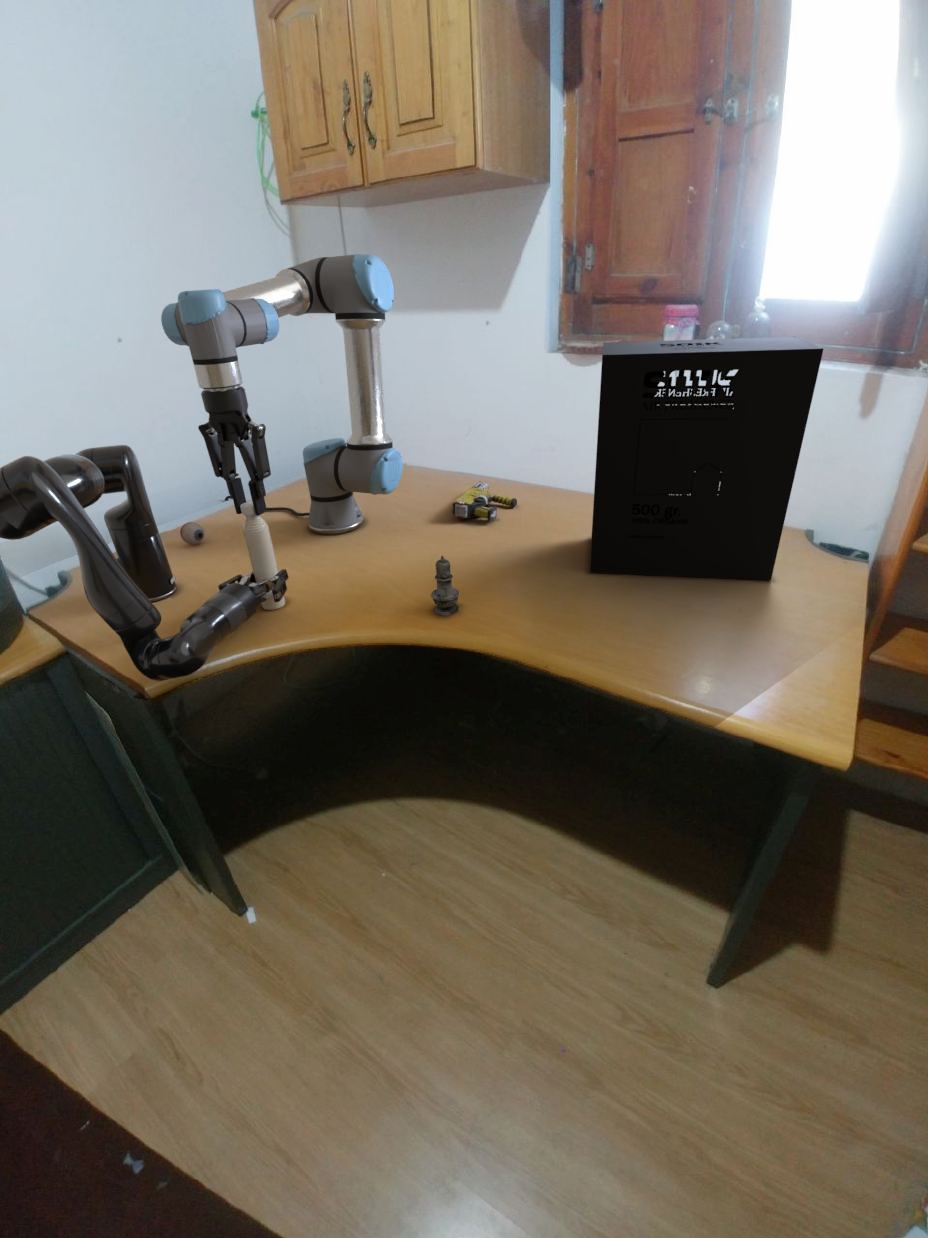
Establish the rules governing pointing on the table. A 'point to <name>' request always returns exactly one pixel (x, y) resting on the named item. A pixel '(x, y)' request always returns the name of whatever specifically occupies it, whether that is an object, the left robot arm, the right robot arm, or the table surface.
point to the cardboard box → (698, 455)
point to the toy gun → (479, 503)
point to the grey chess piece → (444, 590)
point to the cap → (247, 508)
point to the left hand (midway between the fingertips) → (273, 572)
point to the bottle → (261, 554)
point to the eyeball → (192, 533)
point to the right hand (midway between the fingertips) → (251, 512)
